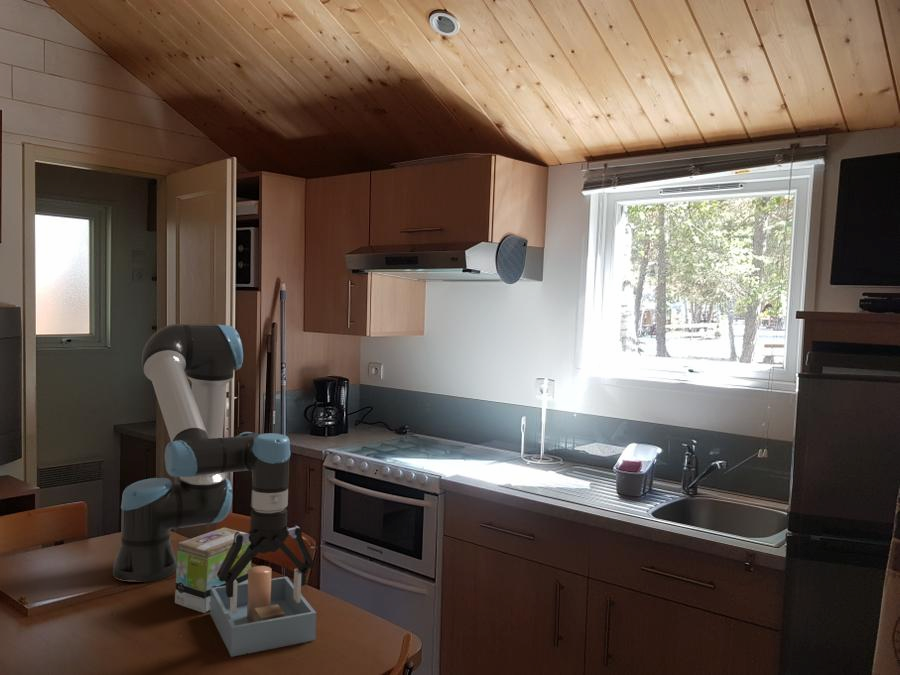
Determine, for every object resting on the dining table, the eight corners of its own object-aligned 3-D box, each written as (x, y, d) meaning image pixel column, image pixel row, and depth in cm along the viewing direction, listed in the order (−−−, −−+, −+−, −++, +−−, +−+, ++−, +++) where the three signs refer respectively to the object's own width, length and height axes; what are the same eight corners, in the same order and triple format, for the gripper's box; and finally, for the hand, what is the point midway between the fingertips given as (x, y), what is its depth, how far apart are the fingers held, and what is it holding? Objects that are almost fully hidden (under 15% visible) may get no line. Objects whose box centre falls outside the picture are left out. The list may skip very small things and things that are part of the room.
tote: (210, 613, 166) (210, 587, 166) (286, 601, 175) (286, 576, 175) (231, 656, 148) (232, 627, 147) (315, 640, 156) (316, 612, 156)
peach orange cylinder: (244, 615, 164) (245, 567, 163) (266, 612, 166) (268, 564, 166) (250, 625, 160) (251, 575, 159) (272, 621, 162) (274, 572, 161)
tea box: (205, 614, 166) (207, 550, 165) (173, 604, 171) (175, 542, 170) (252, 592, 179) (253, 532, 179) (221, 583, 184) (222, 525, 183)
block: (260, 641, 153) (261, 617, 152) (254, 631, 157) (254, 608, 157) (283, 636, 155) (284, 613, 155) (277, 626, 159) (277, 604, 159)
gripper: (212, 520, 145) (208, 623, 147) (331, 507, 157) (327, 602, 159) (204, 508, 152) (201, 607, 153) (320, 497, 164) (316, 589, 166)
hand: (265, 605), depth 156 cm, fingers open, 13 cm apart
